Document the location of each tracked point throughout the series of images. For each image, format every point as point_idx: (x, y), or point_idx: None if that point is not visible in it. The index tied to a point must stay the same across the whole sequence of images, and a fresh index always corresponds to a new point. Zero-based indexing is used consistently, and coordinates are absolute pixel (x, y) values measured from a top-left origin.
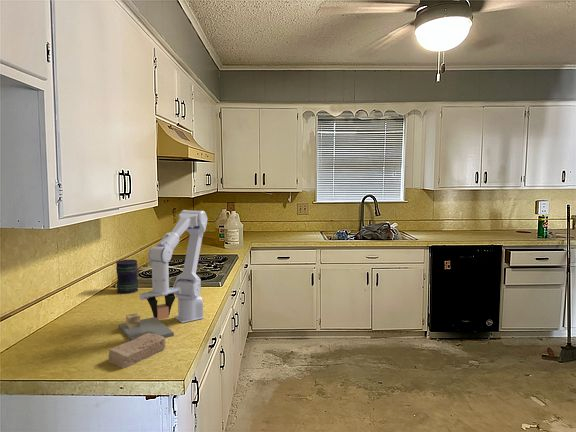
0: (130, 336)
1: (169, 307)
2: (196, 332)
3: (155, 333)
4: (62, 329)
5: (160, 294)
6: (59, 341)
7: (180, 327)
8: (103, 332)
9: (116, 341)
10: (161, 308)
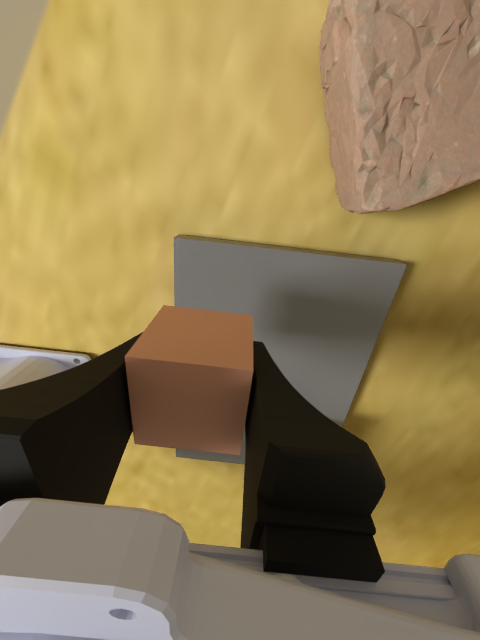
0: (375, 336)
1: (118, 357)
2: (46, 189)
3: (262, 292)
4: (452, 529)
5: (191, 593)
6: None
7: (111, 315)
8: (388, 451)
9: (419, 350)
10: (209, 362)
